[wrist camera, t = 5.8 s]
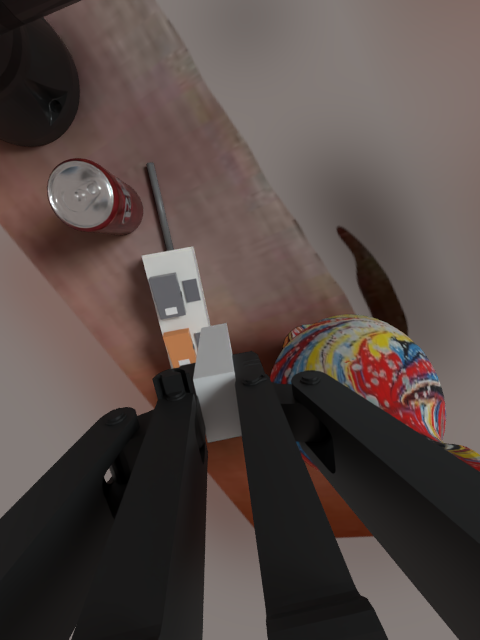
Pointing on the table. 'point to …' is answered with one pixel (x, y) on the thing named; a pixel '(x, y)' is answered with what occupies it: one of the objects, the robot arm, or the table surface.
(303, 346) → the vase
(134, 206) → the soda can
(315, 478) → the table surface
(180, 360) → the rocker middle
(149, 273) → the power strip
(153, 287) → the rocker
